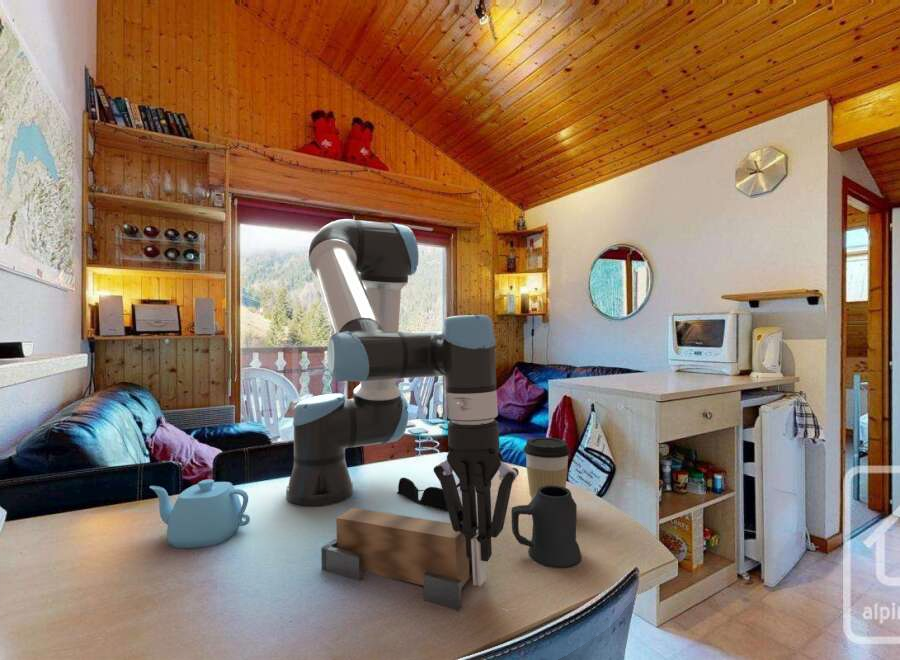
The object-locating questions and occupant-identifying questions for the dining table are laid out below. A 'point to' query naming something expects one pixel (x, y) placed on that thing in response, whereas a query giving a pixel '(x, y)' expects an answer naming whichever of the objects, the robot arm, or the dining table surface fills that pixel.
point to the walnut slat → (403, 545)
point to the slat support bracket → (341, 561)
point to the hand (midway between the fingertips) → (480, 580)
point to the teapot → (203, 514)
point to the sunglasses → (429, 497)
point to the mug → (550, 527)
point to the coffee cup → (546, 462)
